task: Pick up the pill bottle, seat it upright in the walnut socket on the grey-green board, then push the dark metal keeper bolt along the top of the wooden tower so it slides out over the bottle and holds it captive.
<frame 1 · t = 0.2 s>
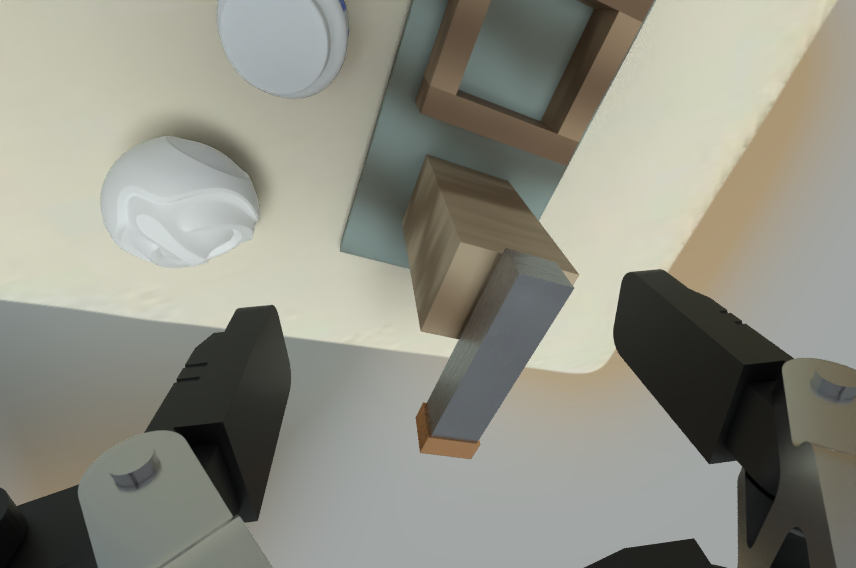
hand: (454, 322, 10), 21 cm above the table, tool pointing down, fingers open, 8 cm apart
pill bottle: (301, 21, 25), on the table
keeper: (484, 363, 21), point 14 cm above the table, slide at 0.0 cm
socket board: (480, 127, 29), on the table
white rounded piece: (204, 180, 29), on the table
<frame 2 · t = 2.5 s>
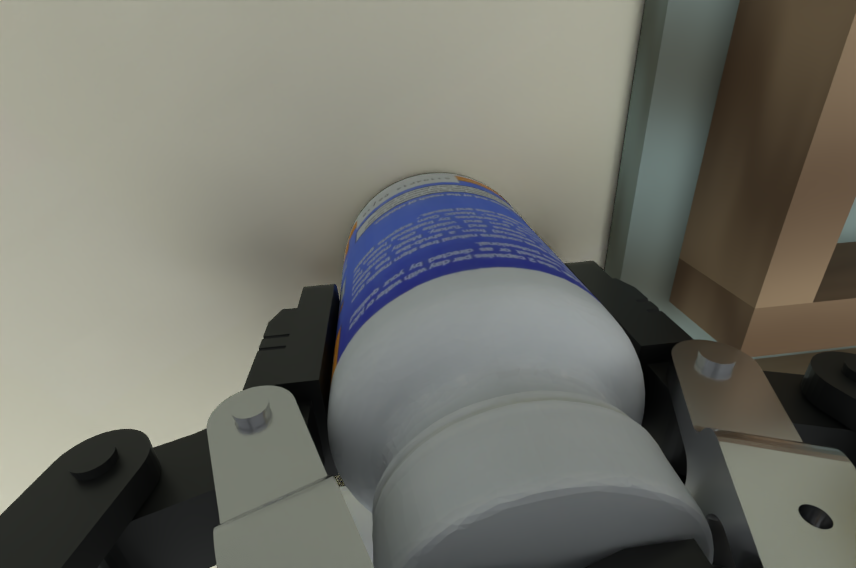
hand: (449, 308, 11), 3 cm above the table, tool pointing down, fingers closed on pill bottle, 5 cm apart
pill bottle: (434, 255, 14), on the table, touching gripper
socket board: (781, 280, 15), on the table
white rounded piece: (349, 504, 19), on the table
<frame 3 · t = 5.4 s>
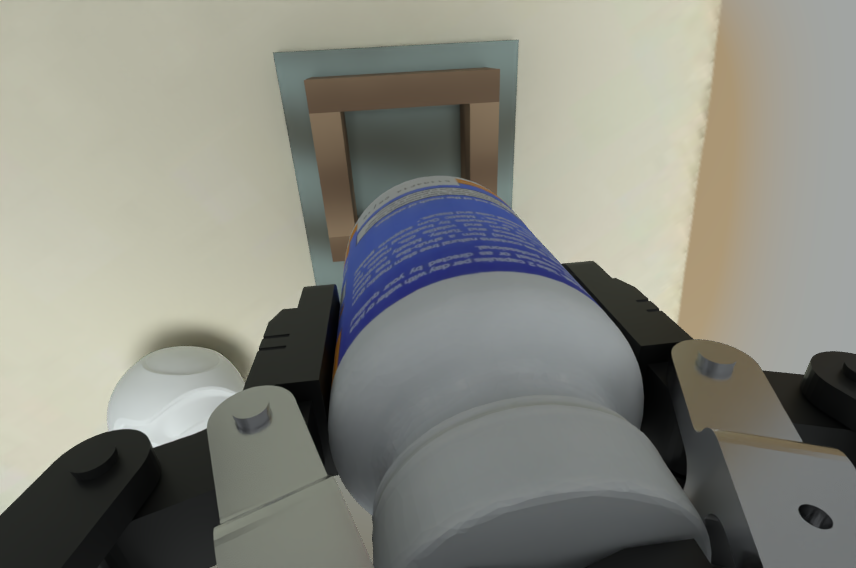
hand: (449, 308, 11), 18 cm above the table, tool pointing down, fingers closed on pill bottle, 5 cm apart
pill bottle: (435, 257, 14), point 15 cm above the table, touching gripper
socket board: (410, 234, 30), on the table
white rounded piece: (201, 366, 33), on the table
when the fingers open (5 cm above the table, at t = 8.1 s): pill bottle drops 1 cm, resting on socket board.
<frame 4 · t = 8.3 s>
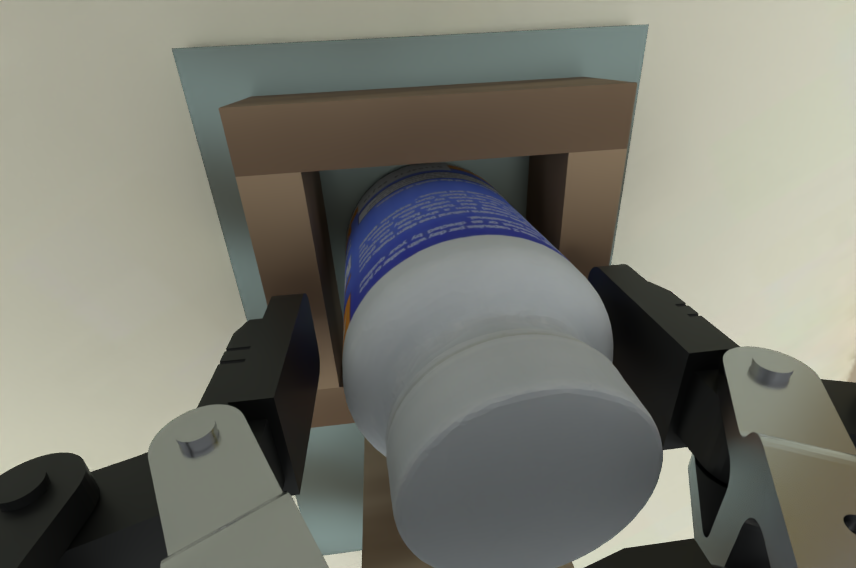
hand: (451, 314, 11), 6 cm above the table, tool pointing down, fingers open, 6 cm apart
pill bottle: (428, 239, 15), point 1 cm above the table, touching socket board
socket board: (432, 346, 18), on the table
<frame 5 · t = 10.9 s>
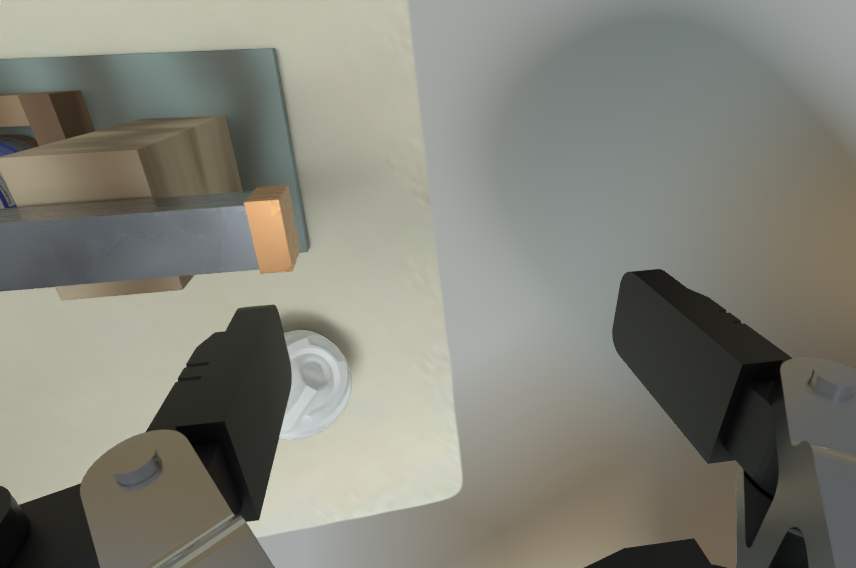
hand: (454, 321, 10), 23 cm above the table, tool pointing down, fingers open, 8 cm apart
pill bottle: (31, 176, 28), point 1 cm above the table, touching socket board
keeper: (144, 238, 17), point 14 cm above the table, slide at 0.0 cm
socket board: (121, 168, 29), on the table
white rounded piece: (303, 352, 37), on the table
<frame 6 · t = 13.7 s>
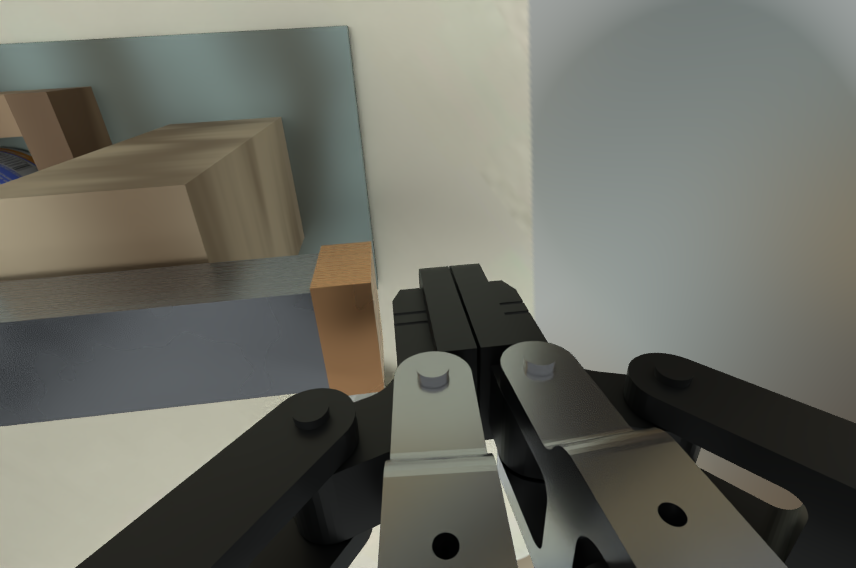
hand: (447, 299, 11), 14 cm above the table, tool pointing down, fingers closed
pill bottle: (28, 201, 21), point 1 cm above the table, touching socket board
keeper: (136, 338, 10), point 15 cm above the table, slide at 1.4 cm, touching gripper
socket board: (145, 187, 22), on the table
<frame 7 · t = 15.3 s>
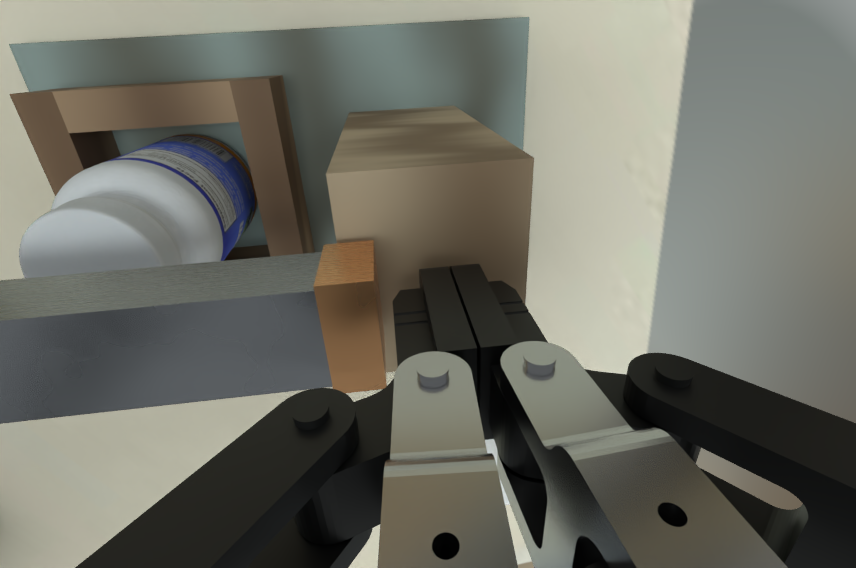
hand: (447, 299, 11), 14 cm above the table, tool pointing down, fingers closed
pill bottle: (204, 187, 22), point 1 cm above the table, touching socket board
keeper: (141, 335, 10), point 14 cm above the table, slide at 9.5 cm
socket board: (309, 174, 23), on the table
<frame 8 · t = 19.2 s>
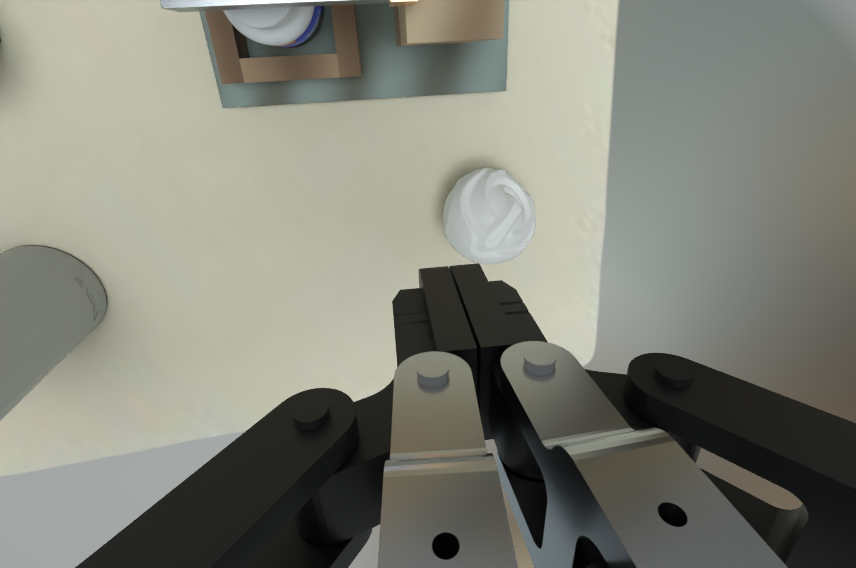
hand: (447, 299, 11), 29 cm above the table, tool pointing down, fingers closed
pill bottle: (286, 4, 32), point 1 cm above the table, touching socket board
socket board: (358, 2, 33), on the table
white rounded piece: (477, 203, 41), on the table
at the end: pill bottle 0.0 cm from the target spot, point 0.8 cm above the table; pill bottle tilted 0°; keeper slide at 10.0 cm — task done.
